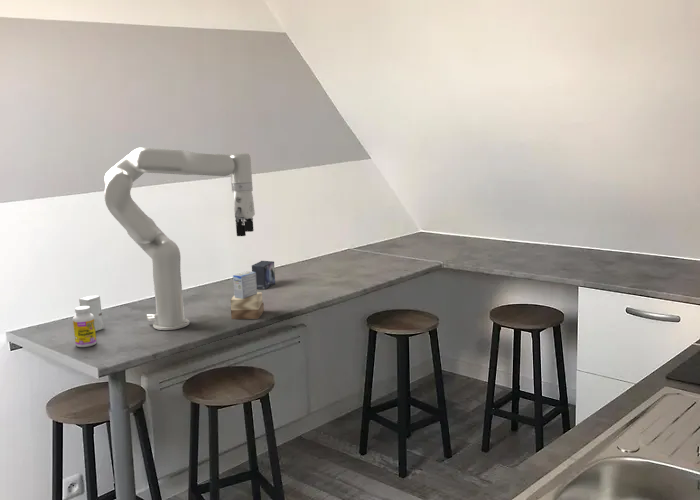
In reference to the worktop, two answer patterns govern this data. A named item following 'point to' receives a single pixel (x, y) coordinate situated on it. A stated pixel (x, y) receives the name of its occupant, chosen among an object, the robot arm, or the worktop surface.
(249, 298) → the birch slab
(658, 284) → the worktop surface
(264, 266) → the small box
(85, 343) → the supplement bottle
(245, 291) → the medicine box
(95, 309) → the skincare box
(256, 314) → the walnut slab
